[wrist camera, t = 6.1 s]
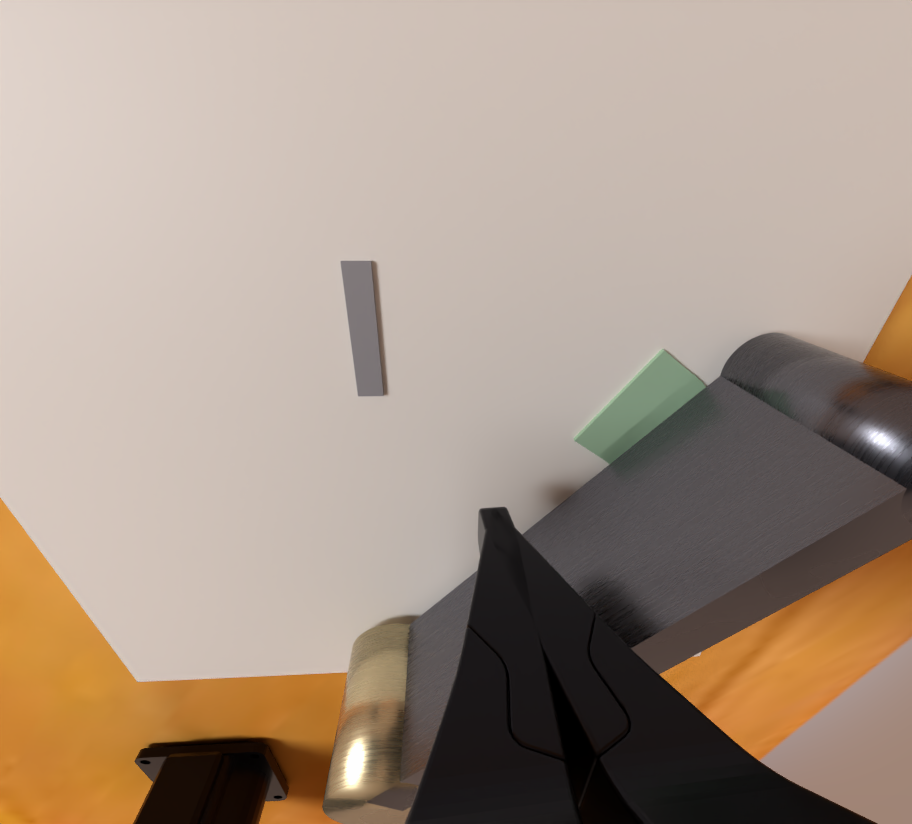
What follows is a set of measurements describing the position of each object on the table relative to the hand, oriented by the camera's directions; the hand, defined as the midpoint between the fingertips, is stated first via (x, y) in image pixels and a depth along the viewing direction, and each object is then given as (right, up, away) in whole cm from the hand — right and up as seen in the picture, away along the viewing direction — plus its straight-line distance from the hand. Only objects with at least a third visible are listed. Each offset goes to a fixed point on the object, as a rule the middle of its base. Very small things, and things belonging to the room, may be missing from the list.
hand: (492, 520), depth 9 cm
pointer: (+1, -1, +2) cm, 3 cm away
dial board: (-2, +2, +2) cm, 4 cm away
